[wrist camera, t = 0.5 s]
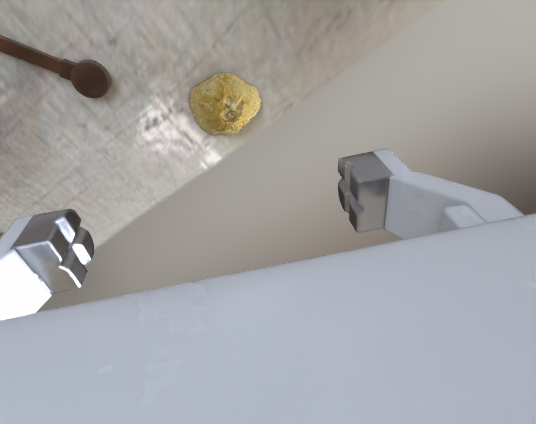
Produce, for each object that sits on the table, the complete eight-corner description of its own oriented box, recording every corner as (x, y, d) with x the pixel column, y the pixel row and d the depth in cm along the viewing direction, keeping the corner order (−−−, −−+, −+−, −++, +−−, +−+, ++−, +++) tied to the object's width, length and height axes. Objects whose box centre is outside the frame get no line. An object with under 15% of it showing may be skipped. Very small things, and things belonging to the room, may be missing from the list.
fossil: (241, 73, 48) (265, 133, 54) (246, 59, 52) (268, 116, 59) (174, 96, 51) (204, 151, 57) (184, 81, 56) (211, 134, 62)
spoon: (-42, 44, 46) (-49, 46, 45) (-41, 4, 44) (-49, 5, 42) (106, 100, 53) (104, 104, 52) (114, 69, 51) (112, 71, 50)
